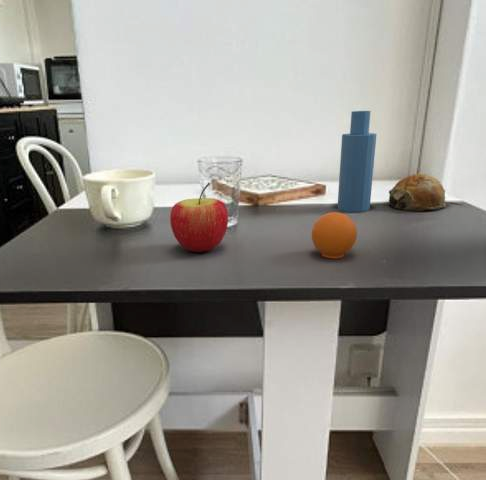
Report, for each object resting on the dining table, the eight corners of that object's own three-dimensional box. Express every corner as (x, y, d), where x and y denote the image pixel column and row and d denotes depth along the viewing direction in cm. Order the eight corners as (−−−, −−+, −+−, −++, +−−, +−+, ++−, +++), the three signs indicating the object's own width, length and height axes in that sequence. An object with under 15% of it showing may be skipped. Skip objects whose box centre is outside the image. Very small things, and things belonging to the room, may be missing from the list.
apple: (230, 257, 62) (228, 186, 58) (170, 259, 62) (165, 189, 58) (227, 240, 70) (225, 177, 66) (174, 242, 70) (169, 179, 66)
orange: (335, 246, 65) (338, 206, 63) (364, 257, 60) (368, 214, 57) (302, 252, 63) (303, 211, 60) (328, 265, 57) (331, 220, 55)
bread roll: (438, 230, 82) (465, 191, 79) (389, 207, 82) (413, 168, 79) (423, 217, 91) (446, 182, 88) (378, 197, 91) (400, 161, 88)
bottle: (354, 204, 90) (362, 110, 83) (376, 209, 84) (386, 110, 78) (331, 207, 87) (336, 112, 81) (351, 213, 82) (359, 111, 76)
